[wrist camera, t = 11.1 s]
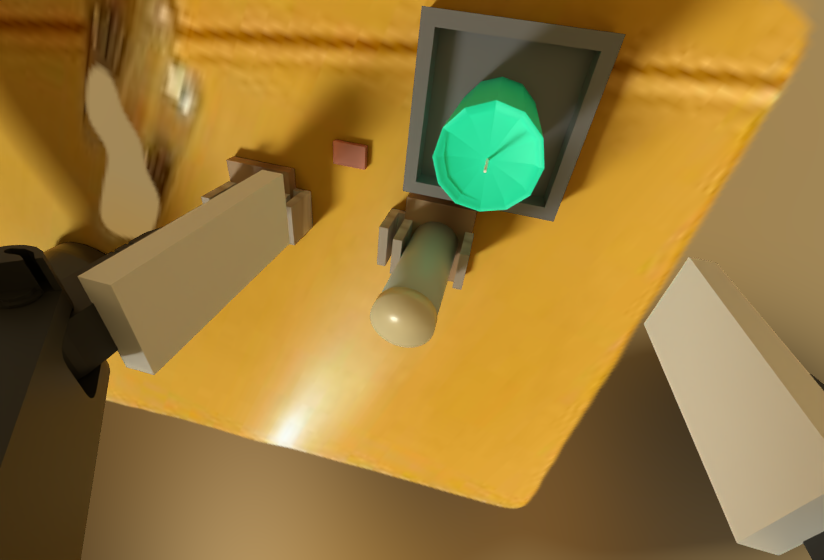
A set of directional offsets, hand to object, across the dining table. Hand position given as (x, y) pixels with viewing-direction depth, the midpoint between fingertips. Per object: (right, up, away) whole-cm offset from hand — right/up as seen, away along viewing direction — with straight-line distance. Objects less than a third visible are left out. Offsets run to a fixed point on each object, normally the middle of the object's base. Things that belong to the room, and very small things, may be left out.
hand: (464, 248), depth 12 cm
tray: (+5, +12, +16) cm, 21 cm away
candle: (+5, +11, +16) cm, 20 cm away
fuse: (0, +2, +22) cm, 23 cm away
